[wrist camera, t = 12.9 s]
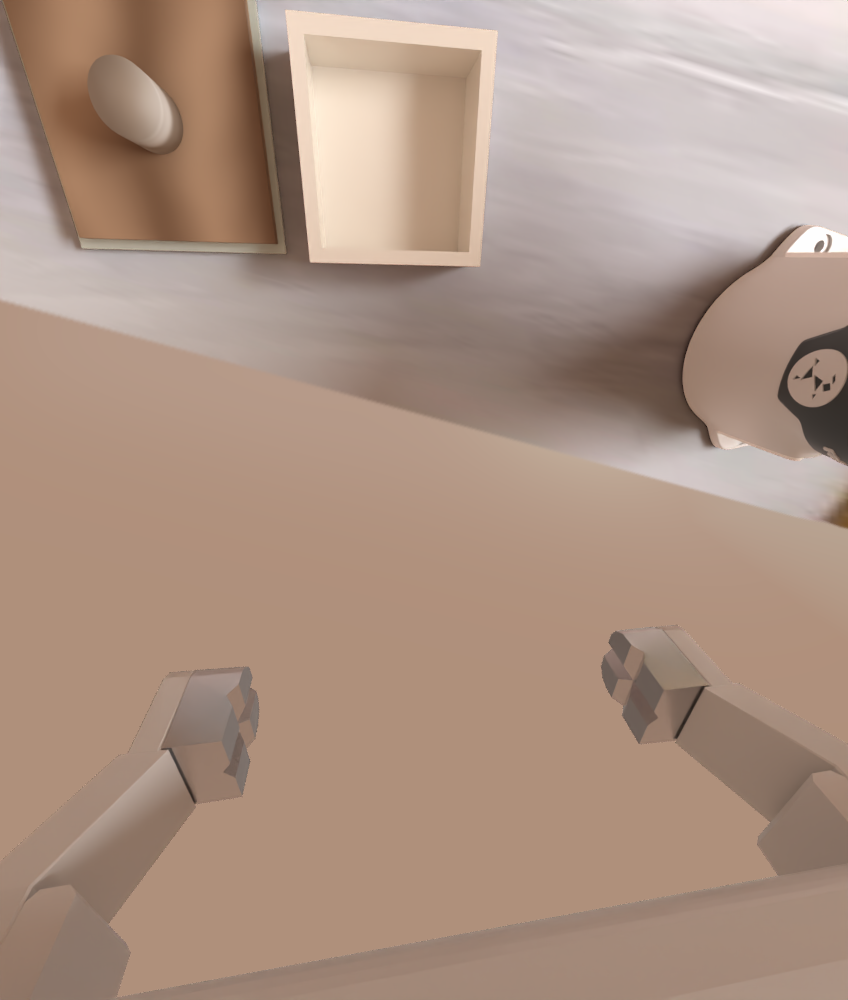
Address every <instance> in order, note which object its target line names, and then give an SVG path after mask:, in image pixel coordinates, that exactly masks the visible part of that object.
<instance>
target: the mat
mask: <svg viewBox="0 0 848 1000" xmlns="http://www.w3.org/2000/svg"><path fill="white" fill-rule="evenodd" d="M247 2H248V10H249V18H250V26H251V34H252V42H253V50H254V58H255V66H256V73H257V81H258V89H259V97H260V105H261V113H262V121H263V129H264V136H265V144H266V152H267V160H268V168H269V176H270V184H271V192H272V199H273V207H274V215H275V223H276V231H277V239H278V244H252V243H219V242H186V241H154V240H121V239H88V238H79V234H78V231H77V228H76V225H75V222H74V219H73V216H72V213H71V210H70V207H69V203H68V200H67V197H66V194H65V191H64V188H63V185H62V182H61V179H60V176H59V172H58V169H57V166H56V163H55V160H54V157H53V154H52V151H51V148H50V145H49V141H48V138H47V135H46V132H45V129H44V126H43V123H42V120H41V117H40V114H39V110H38V107H37V104H36V101H35V98H34V95H33V92H32V89H31V86H30V83H29V79H28V76H27V73H26V70H25V67H24V64H23V61H22V58H21V55H20V52H19V48H18V45H17V42H16V39H15V36H14V33H13V30H12V27H11V24H10V21H9V18H8V14H7V11H6V8H5V5H4V2H3V0H2V3H3V6H4V10H5V13H6V16H7V19H8V22H9V25H10V28H11V31H12V34H13V37H14V40H15V43H16V47H17V50H18V53H19V56H20V59H21V62H22V65H23V68H24V71H25V74H26V77H27V80H28V84H29V87H30V90H31V93H32V96H33V99H34V102H35V105H36V108H37V111H38V114H39V117H40V121H41V124H42V127H43V130H44V133H45V136H46V139H47V142H48V145H49V148H50V151H51V155H52V158H53V161H54V164H55V167H56V170H57V173H58V176H59V179H60V182H61V185H62V188H63V192H64V195H65V198H66V201H67V204H68V207H69V210H70V213H71V216H72V219H73V222H74V225H75V229H76V232H77V235H78V238H79V241H80V244H81V247H82V248H84V249H117V250H154V251H190V252H227V253H264V254H287V251H286V243H285V234H284V226H283V218H282V209H281V201H280V193H279V184H278V176H277V168H276V159H275V151H274V143H273V134H272V126H271V118H270V109H269V101H268V93H267V84H266V76H265V68H264V59H263V51H262V43H261V34H260V26H259V18H258V9H257V1H256V0H247Z"/></svg>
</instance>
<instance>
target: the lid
mask: <svg viewBox="0 0 848 1000" xmlns="http://www.w3.org/2000/svg"><path fill="white" fill-rule="evenodd" d="M3 2H4V5H5V8H6V11H7V14H8V18H9V21H10V24H11V27H12V30H13V33H14V36H15V39H16V42H17V45H18V48H19V52H20V55H21V58H22V61H23V64H24V67H25V70H26V73H27V76H28V79H29V83H30V86H31V89H32V92H33V95H34V98H35V101H36V104H37V107H38V110H39V114H40V117H41V120H42V123H43V126H44V129H45V132H46V135H47V138H48V141H49V145H50V148H51V151H52V154H53V157H54V160H55V163H56V166H57V169H58V172H59V176H60V179H61V182H62V185H63V188H64V191H65V194H66V197H67V200H68V203H69V207H70V210H71V213H72V216H73V219H74V222H75V225H76V228H77V231H78V234H79V238H88V239H121V240H154V241H186V242H219V243H252V244H278V239H277V231H276V223H275V215H274V207H273V199H272V192H271V184H270V176H269V168H268V160H267V152H266V144H265V136H264V129H263V121H262V113H261V105H260V97H259V89H258V81H257V73H256V66H255V58H254V50H253V42H252V34H251V26H250V18H249V10H248V2H247V0H3Z"/></svg>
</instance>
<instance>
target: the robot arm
mask: <svg viewBox="0 0 848 1000" xmlns="http://www.w3.org/2000/svg"><path fill="white" fill-rule="evenodd" d="M815 245H816V247H815V249H814V246H815ZM683 389H684V394H685V397H686V400H687V402H688V405H689V406H690V408H691V409H692V411H693V412H694V413H695V414H696V415H697V416H698V417H699V418H700V419H701V420H702V421H703V422H704V423H705V424H706V425H707V427H708V432H709V436H710V439H711V442H712V444H713V445H714V446H715V447H718V448H721V449H724V450H730V449H734V448H739V447H743V446H748V445H751V446H754V447H756V448H759V449H762V450H764V451H767V452H770V453H772V454H775V455H778V456H781V457H783V458H786V459H789V460H794V461H800V460H802V459H803V458H812V457H816V456H819V455H822V454H823V455H826V456H828V457H831V458H832V459H833V460H836V461H837V462H839V463H841V464H844V465H847V466H848V236H847V235H844V234H841V233H838V232H835V231H832V230H829V229H827V228H824V227H821V226H815V225H804V226H801V227H799V228H797V229H796V230H795V231H793V232H792V233H791V234H790V235H789V236H788V237H787V238H786V239H785V240H784V241H783V242H782V244H781V245H780V246H779V247H778V248H777V249H776V250H775V252H774V253H773V254H772V255H771V256H770V257H769V258H768V259H767V260H766V261H764V262H763V263H762V264H760V265H759V266H757V267H756V268H754V269H752V270H751V271H749V272H748V273H746V274H745V275H743V276H742V277H740V278H739V279H738V280H736V281H735V282H734V283H733V284H732V285H730V286H729V287H728V288H727V289H726V290H725V291H724V292H723V293H722V294H721V295H720V296H719V297H718V298H717V299H716V300H715V302H714V303H713V304H712V305H711V307H710V308H709V309H708V311H707V312H706V313H705V315H704V316H703V318H702V319H701V321H700V323H699V324H698V326H697V328H696V330H695V332H694V334H693V336H692V338H691V341H690V343H689V346H688V349H687V352H686V356H685V360H684V366H683ZM609 644H610V646H611V647H612V649H611V650H610V651H609V652H608V653H607V654H606V655H604V658H603V662H602V665H601V669H602V678H603V681H604V683H605V686H606V688H607V690H608V692H609V694H610V695H611V697H612V698H613V699H615V700H616V701H617V702H619V703H620V704H622V705H623V713H622V716H623V718H624V719H625V721H626V723H627V724H628V726H629V728H630V730H631V731H632V733H633V735H634V736H635V738H636V740H637V741H638V743H639V744H647V743H656V742H666V741H675V740H676V742H675V743H676V744H678V745H679V746H680V747H681V748H682V749H683V750H684V751H686V752H687V753H688V754H689V755H690V756H692V757H693V758H694V759H695V760H697V761H698V762H699V763H700V764H701V765H702V766H704V767H705V768H706V769H707V770H708V771H710V772H711V773H712V774H713V775H714V776H716V777H717V778H718V779H719V780H721V781H722V782H723V783H724V784H725V785H726V786H728V787H729V788H730V789H731V790H732V791H734V792H735V793H736V794H737V795H738V796H740V797H741V798H742V799H743V800H744V801H746V802H747V803H748V804H749V805H750V806H752V807H753V808H754V809H755V810H756V811H758V812H759V813H760V814H761V815H762V816H764V817H765V818H766V819H767V820H768V821H770V823H769V825H768V826H767V827H766V828H765V829H764V830H763V832H762V833H761V834H760V835H759V836H758V843H757V845H758V847H759V848H760V850H761V851H762V853H763V854H764V856H765V857H766V859H767V860H768V861H769V863H770V864H771V866H772V867H773V869H774V870H775V872H776V873H777V875H778V876H775V877H770V878H764V879H759V880H753V881H748V882H743V883H737V884H732V885H726V886H721V887H716V888H710V889H704V890H699V891H694V892H688V893H683V894H677V895H672V896H666V897H661V898H656V899H650V900H645V901H639V902H634V903H628V904H623V905H617V906H612V907H606V908H601V909H596V910H590V911H585V912H579V913H574V914H568V915H563V916H558V917H552V918H547V919H541V920H536V921H530V922H525V923H520V924H514V925H508V926H503V927H498V928H493V929H487V930H481V931H476V932H470V933H465V934H459V935H454V936H449V937H444V938H438V939H432V940H427V941H421V942H416V943H410V944H405V945H400V946H394V947H389V948H383V949H378V950H372V951H367V952H361V953H356V954H351V955H345V956H340V957H334V958H329V959H324V960H319V961H312V962H307V963H302V964H296V965H291V966H286V967H280V968H274V969H269V970H264V971H258V972H253V973H247V974H242V975H237V976H231V977H225V978H220V979H215V980H209V981H204V982H198V983H193V984H187V985H182V986H176V987H171V988H166V989H161V990H155V991H149V992H144V993H139V994H133V995H128V996H122V997H117V994H118V991H119V988H120V984H121V981H122V978H123V975H124V972H125V969H126V966H127V962H128V959H129V957H130V950H129V948H128V946H127V944H126V942H125V941H124V940H123V939H122V938H121V937H120V936H119V935H118V934H117V933H116V932H115V931H114V930H113V929H112V928H111V927H110V926H109V925H108V924H109V923H110V921H111V920H112V919H113V917H114V916H115V914H116V913H117V912H118V911H119V909H120V908H121V907H122V905H123V904H124V903H125V901H126V900H127V898H128V897H129V896H130V894H131V893H132V892H133V891H134V889H135V888H136V887H137V885H138V884H139V882H140V881H141V880H142V879H143V877H144V876H145V875H146V873H147V872H148V870H149V869H150V868H151V867H152V865H153V864H154V863H155V861H156V860H157V859H158V857H159V856H160V854H161V853H162V852H163V850H164V849H165V848H166V846H167V845H168V844H169V842H170V841H171V840H172V838H173V837H174V836H175V834H176V833H177V832H178V830H179V829H180V828H181V826H182V825H183V824H184V822H185V821H186V820H187V818H188V817H189V816H190V814H191V813H192V812H193V810H194V809H195V807H196V806H195V804H200V803H206V802H212V801H219V800H225V799H231V798H237V797H242V795H243V791H244V786H245V782H246V777H247V773H248V769H249V764H250V759H249V756H248V752H247V748H248V746H249V745H250V744H251V743H252V742H253V741H254V740H255V737H256V732H257V727H258V719H259V702H258V696H257V693H256V691H255V690H253V689H252V688H250V685H251V681H252V674H251V671H250V668H249V667H235V668H220V669H206V670H195V671H181V672H170V673H169V674H168V675H167V676H166V677H165V678H164V679H163V680H162V683H161V685H160V687H159V689H158V691H157V693H156V695H155V697H154V699H153V701H152V704H151V705H150V708H149V710H148V712H147V714H146V716H145V718H144V720H143V722H142V724H141V726H140V729H139V731H138V733H137V735H136V737H135V739H134V741H133V743H132V745H131V747H130V749H129V751H128V753H127V754H123V755H118V756H117V757H116V758H115V759H114V760H113V761H111V762H110V763H109V764H108V765H107V766H106V767H105V768H104V769H103V770H101V771H100V772H99V773H98V774H97V775H96V776H95V777H94V778H92V779H91V780H90V781H89V782H88V783H87V784H86V785H85V786H84V787H82V788H81V789H80V790H79V791H78V792H77V793H76V794H75V795H74V796H73V797H71V798H70V799H69V800H68V801H67V802H66V803H65V804H64V805H63V806H61V807H60V808H59V809H58V810H57V811H56V812H55V813H54V814H52V815H51V816H50V817H49V818H48V819H47V820H46V821H45V822H43V823H42V824H41V825H40V826H39V827H38V828H37V829H36V830H34V831H33V832H32V833H31V834H30V835H29V836H28V837H27V838H26V839H24V840H23V841H22V842H21V843H20V844H19V845H18V846H17V847H16V848H14V849H13V850H12V851H11V852H10V853H9V854H8V855H7V856H6V857H4V858H3V859H2V860H1V861H0V1000H848V744H847V743H846V742H844V741H842V740H840V739H839V738H837V737H835V736H833V735H831V734H829V733H828V732H826V731H824V730H822V729H821V728H819V727H817V726H815V725H814V724H812V723H810V722H808V721H806V720H805V719H803V718H801V717H799V716H797V715H796V714H794V713H792V712H790V711H788V710H787V709H785V708H783V707H781V706H779V705H778V704H776V703H774V702H772V701H771V700H769V699H767V698H765V697H763V696H762V695H760V694H758V693H756V692H754V691H753V690H751V689H749V688H747V687H745V686H744V685H742V684H740V683H735V684H733V683H732V682H731V681H730V680H729V679H728V678H727V677H726V675H725V674H724V673H723V672H722V671H721V670H720V669H719V667H718V666H717V665H716V664H715V663H714V662H713V661H712V660H711V659H710V657H709V656H708V655H707V654H706V653H705V652H704V651H703V650H702V649H701V648H700V646H699V645H698V644H697V643H696V642H695V641H694V640H693V639H692V637H691V636H690V635H689V634H688V633H687V632H686V631H685V630H684V629H683V628H681V627H680V626H678V625H671V626H661V627H647V628H638V629H629V630H620V631H615V632H614V633H613V634H612V635H611V637H610V639H609ZM116 997H117V998H116Z"/></svg>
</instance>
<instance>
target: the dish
mask: <svg viewBox="0 0 848 1000" xmlns="http://www.w3.org/2000/svg"><path fill="white" fill-rule="evenodd" d="M285 12H286V23H287V33H288V43H289V53H290V64H291V74H292V84H293V94H294V105H295V115H296V125H297V135H298V146H299V156H300V166H301V176H302V187H303V197H304V207H305V217H306V228H307V238H308V248H309V258H310V262H312V263H340V264H381V265H421V266H461V267H480V260H481V247H482V234H483V220H484V207H485V194H486V181H487V167H488V154H489V141H490V128H491V114H492V101H493V88H494V74H495V61H496V48H497V35H498V31H496V30H486V29H475V28H465V27H455V26H445V25H435V24H425V23H415V22H405V21H394V20H384V19H374V18H364V17H354V16H344V15H334V14H324V13H313V12H303V11H293V10H285Z"/></svg>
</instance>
